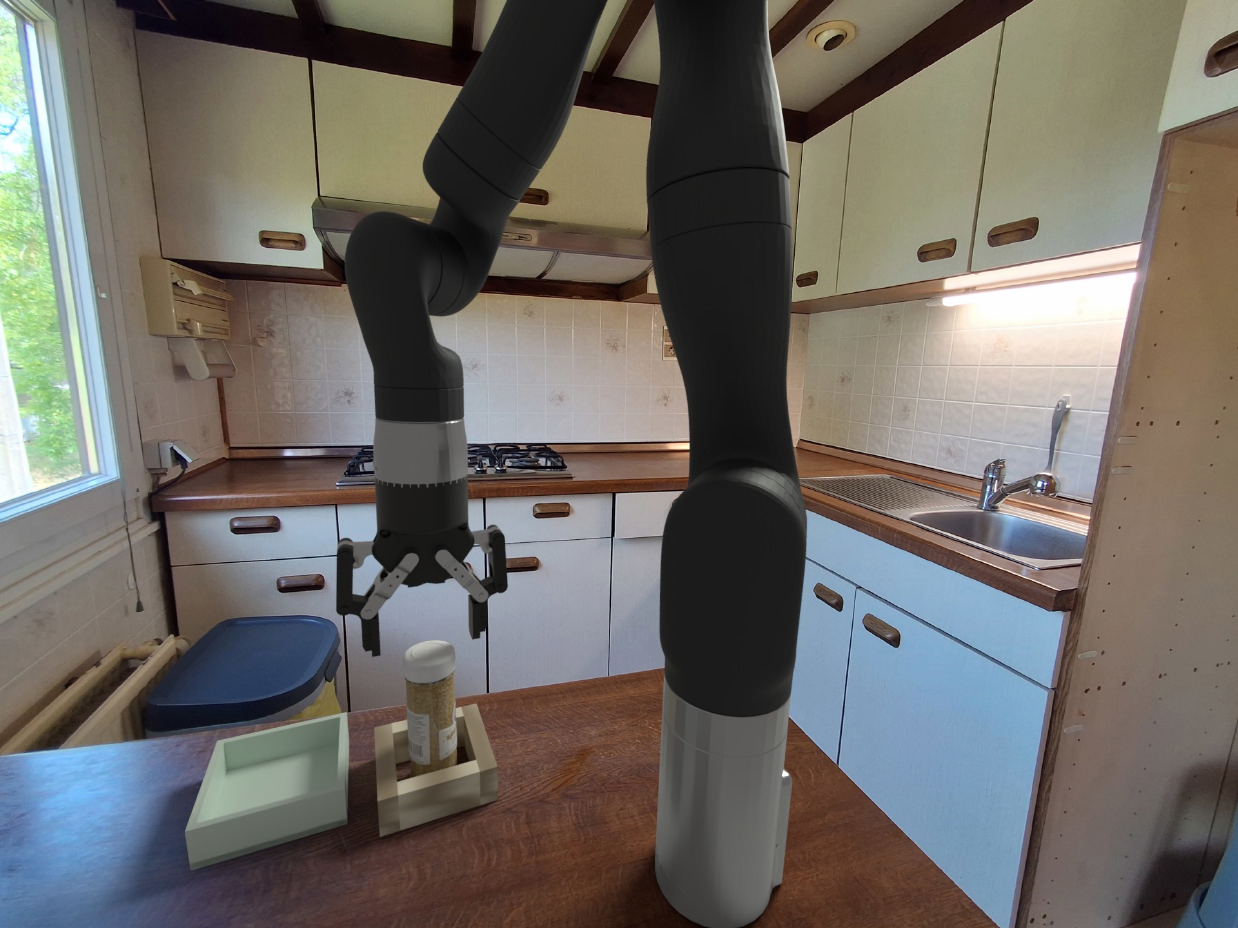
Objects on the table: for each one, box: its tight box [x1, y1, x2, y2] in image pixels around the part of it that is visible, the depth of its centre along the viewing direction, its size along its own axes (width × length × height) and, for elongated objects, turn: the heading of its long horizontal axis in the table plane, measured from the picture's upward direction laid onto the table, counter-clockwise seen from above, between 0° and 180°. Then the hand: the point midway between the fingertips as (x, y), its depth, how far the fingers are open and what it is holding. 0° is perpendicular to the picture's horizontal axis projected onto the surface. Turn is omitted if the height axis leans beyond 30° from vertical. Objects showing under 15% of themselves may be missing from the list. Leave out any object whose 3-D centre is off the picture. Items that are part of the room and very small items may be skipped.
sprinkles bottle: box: [402, 639, 459, 779], centre depth 51 cm, size 5×5×14 cm
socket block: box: [373, 703, 499, 838], centre depth 52 cm, size 10×10×4 cm
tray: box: [184, 711, 350, 872], centre depth 50 cm, size 11×11×4 cm
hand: (427, 643), depth 50 cm, fingers open, 8 cm apart
